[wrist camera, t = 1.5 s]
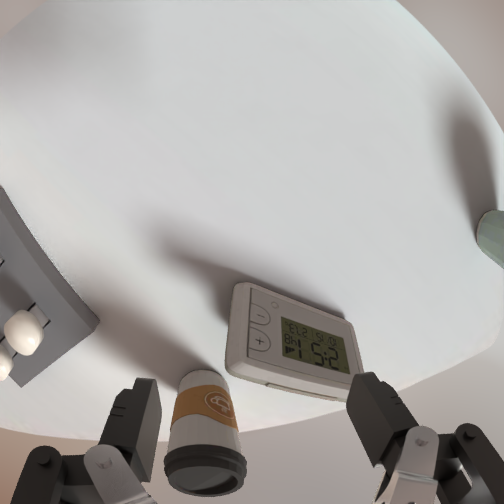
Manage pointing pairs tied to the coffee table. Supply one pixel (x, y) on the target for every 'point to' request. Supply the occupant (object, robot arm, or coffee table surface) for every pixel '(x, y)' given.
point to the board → (37, 296)
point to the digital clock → (290, 345)
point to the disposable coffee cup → (492, 235)
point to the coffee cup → (204, 438)
